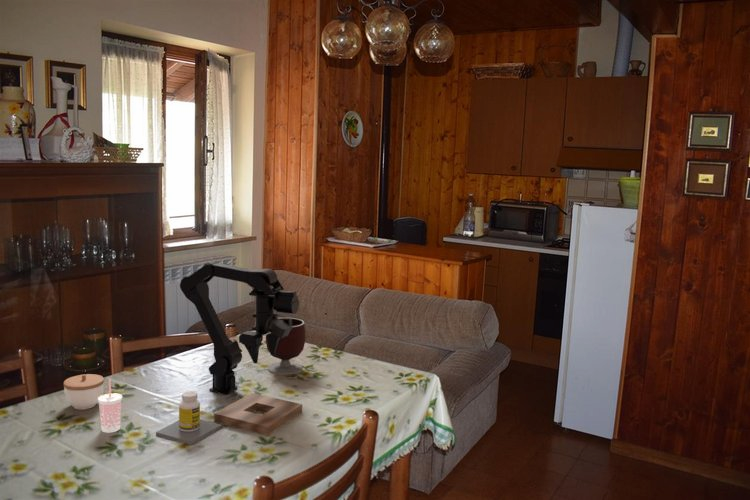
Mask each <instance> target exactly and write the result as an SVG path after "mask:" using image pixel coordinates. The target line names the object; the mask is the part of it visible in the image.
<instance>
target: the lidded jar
mask: <svg viewBox="0 0 750 500" xmlns="http://www.w3.org/2000/svg"><path fill="white" fill-rule="evenodd" d="M104 386H105V378H104V377H103V376H102V375H100V374H96V373H95V374H92V373H87V374H79V375H74V376H70V377H68V378H66V379H65V380H64V381H63V391H64V397H65V399H66V401H67V403H68V404H69V405H70V406H72V407H74V408H73V409H75V410H88V409H91V408H94V407H95V406H96V405H97V403H98V397H100V396H101V395H104Z"/></svg>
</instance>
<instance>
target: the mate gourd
mask: <svg viewBox="0 0 750 500" xmlns="http://www.w3.org/2000/svg"><path fill="white" fill-rule="evenodd" d="M287 318H288V317H278V319H279V320H283V321H284V320H285V319H287ZM289 318H290V319H291V320H292V328H293V329H292V330H290V331H289V334H288V336H285V337H283V338H280V339H279V342H278V345H277V348H276V351H275V354H274V355H271V356H272V357H274V358H276V359H279V360H281V361H278V362H273V363H270V364H269V365H267V372H269V373H271V374H274V375H281V376H289V375H290V376H291V375H295V374H299V373H301V372H302V371H303V365H301V364H300V363H298V362H292V361H290V360H291V359H294V358H297V357H299V356H300V355H301V353H302V352H303V351H304V348H305V344H306V326H305V320H303V319H299V318H297V317H296V318H294V317H289ZM265 343H266V348H267V351H268V352H269V353H270V351H269V346H268V341H267V336H266V335H265Z"/></svg>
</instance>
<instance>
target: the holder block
mask: <svg viewBox="0 0 750 500" xmlns="http://www.w3.org/2000/svg"><path fill="white" fill-rule="evenodd" d="M255 412H261V413H263V414H261V413H260V414H259V413H255ZM302 413H303V404H302V403H299V402H295V401H291V400H289V401H288V400H285V399H280V398H277V397H271V396H268V395H264V394H258V393H254V392H250V393H249V394H247V395H245V396H243V397H242V398H240V399H238V400H236V401H234V402H233V403H231V404H229V405H227V406H225V407H223V408H222V409H220V410H218V411H216V412H214V413H213V423H216V424H220V425H224V426H229V427H233V428H237V429H241V430H243V431H249V432H252V433H256V434H259V435H264V436H269V435H271V434H272V433H274V432H275V431H277V430H278V429H280V428H281V427H283V426H284V425H286V424H287V423H289V422H290V421H291V420H293V419H294V418H296V417H297V416H299V415H301V414H302Z"/></svg>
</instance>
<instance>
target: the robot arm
mask: <svg viewBox="0 0 750 500" xmlns="http://www.w3.org/2000/svg"><path fill="white" fill-rule="evenodd" d="M214 277H216V278H220V279H225V280H230V281H236V282H240V283H244V284H246V285H247V286H249V287H250V288H253V289H252V290H251V291H250V292H249V293H248V296H252V297H255V302H254V303H255V311H254V313H252V318H254V320H255V321H254V322H255V324H254V326H252V328H251V330H246V331H244V332H242V333H240V334H239V336H238V340H237V339H236V340H234V341H232V339H230V338H229V336H228V335H227V333H226V331H225V328H224V327H223V324H222V322H221V320H220V318H219V316H218V315H217V312H216V309H215V308H214V306H213V304H212V302H211V299H210V288H209V284H208V283H209V282H210V281H211V280H212V279H213V278H214ZM179 289H180V290H181V292H182V294H183V295H184V296H185V298H186V299H187V301H190V302H191V303H192V304H194V307H195V309H196V311H197V313H198V315H199V316H200V319H201V321H202V324H203V325H204V327H205V330H206V332H207V334H208V336H209V337H210V340H211V342H212V345H213V356H214V360H215V362H213V363H212V364H211V365H210V366H209V367H208V370H209V371H208V372H209V374H210V375H212V387H210V388H209V389H208V390H209V391H210V392H214V393H218V394H223V395H226V394H227V395H228V393H231V392H233V391H235V390H237V389H238V386H237V385H236V376H235V370H234V369H236V368H237V367H238V366H239V365H238V364H240V363H241V361H242V359H243V353H242V352H243V349H241V347H240V345H239V344H240V343H241V345H243V346H244V348H246V351H247V352H248V355H249V356H250V359H251V361H252V362H253V364H258V360H259V355H260V354H259V352H260V347H261V346H262V345H263V344H264V343H263V342H262V341H263V340H264V337H266V336H267V341H268V346H269V351H270V352H269V351H268V352H269V354H270V356H272V355H274V354H275V351H276V348H277V345H278V342H279V339H280V338H283V337H285V336H288V334H289V331H290V330H292V329H293V328H292V320H291V319H290V318H291V317H286V318H287V319H285V320H284V321H283V320H279V319H278V318H279V317H278V313H283V314H292V315H295V314H297V313H298V310H299V308H300V307H299V306H300V300H299V296H298V295H297V291H295V290H285V288H284V286H283V285H282V284H281V282H280V280H279V278H278V276H277V273H276V272H275V269H274V270H273V269H271V268H254V269H253V268H250V269H249V268H245V267H239V266H234V265H229V264H224V263H220V262H217V261H211V262H207V263H205V264H204V265H203V266H201V268H199V269H198V270H196V271H194V272H193V273H191V274H190V275H187V276H184V277H182V278H181V280H180V283H179ZM275 311H276V312H275Z"/></svg>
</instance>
